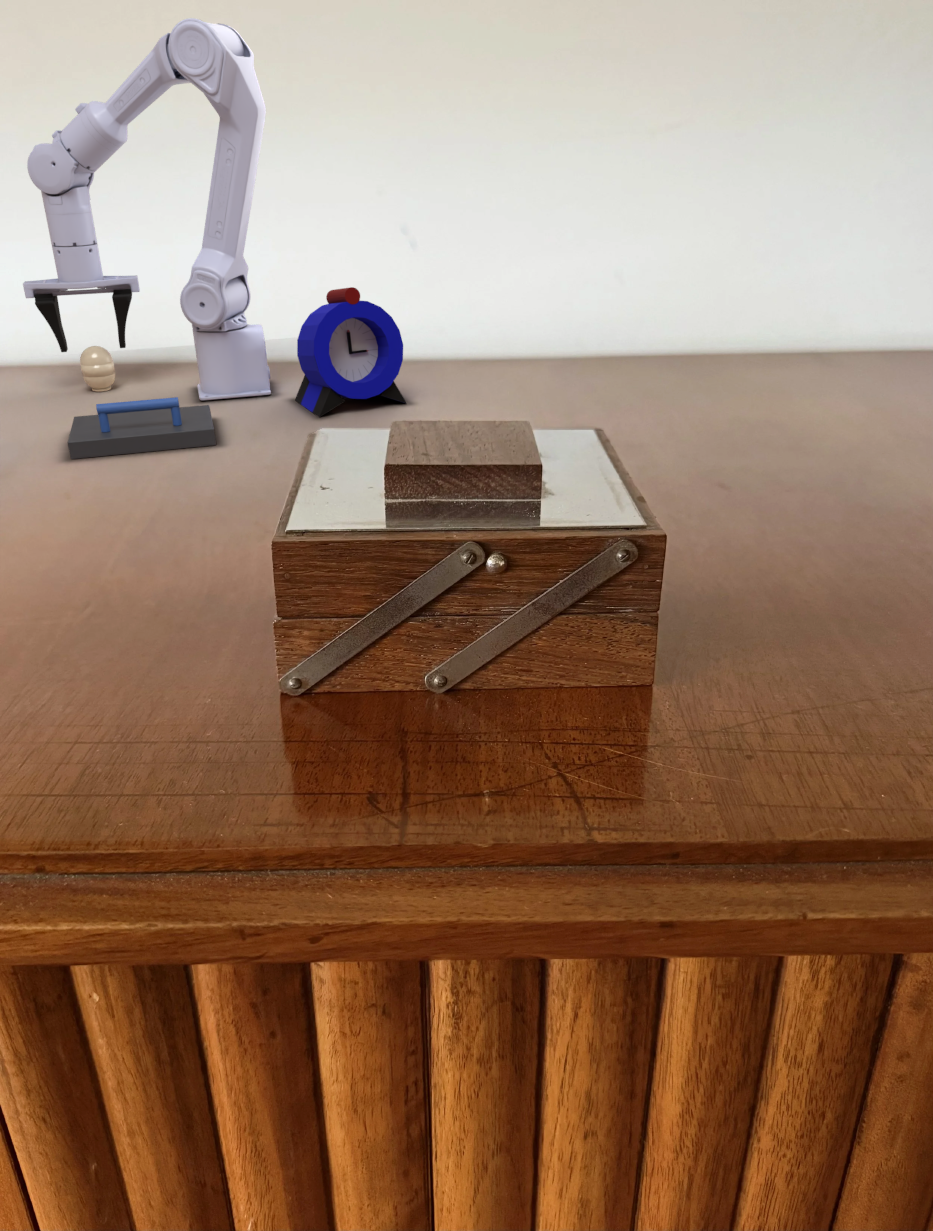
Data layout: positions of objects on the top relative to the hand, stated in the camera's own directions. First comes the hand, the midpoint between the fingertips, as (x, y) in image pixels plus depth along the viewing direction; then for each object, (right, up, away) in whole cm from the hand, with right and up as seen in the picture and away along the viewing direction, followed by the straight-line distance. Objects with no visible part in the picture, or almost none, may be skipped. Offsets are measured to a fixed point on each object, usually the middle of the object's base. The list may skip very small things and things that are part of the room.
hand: (93, 348), depth 136 cm
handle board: (+13, -16, -19) cm, 28 cm away
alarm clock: (+36, -9, -5) cm, 37 cm away
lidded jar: (0, -5, +3) cm, 6 cm away
